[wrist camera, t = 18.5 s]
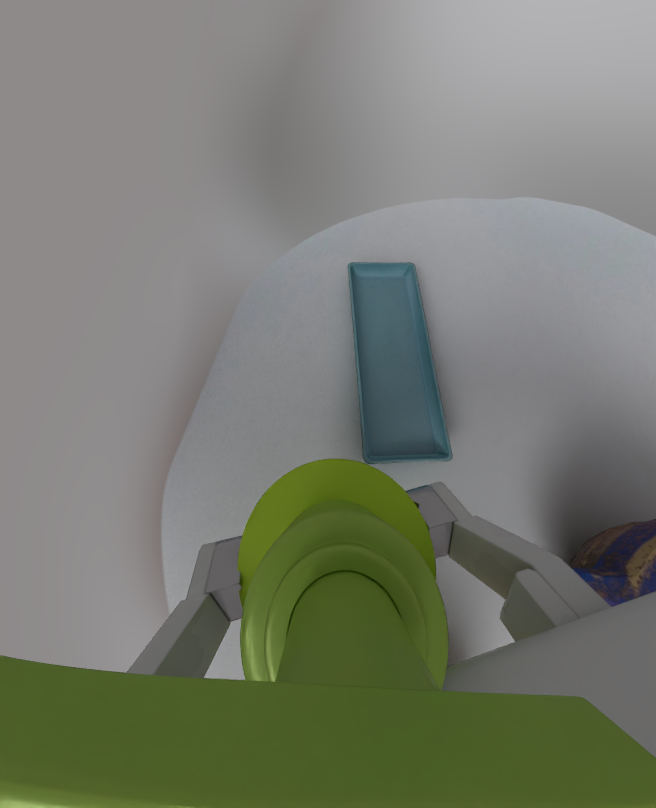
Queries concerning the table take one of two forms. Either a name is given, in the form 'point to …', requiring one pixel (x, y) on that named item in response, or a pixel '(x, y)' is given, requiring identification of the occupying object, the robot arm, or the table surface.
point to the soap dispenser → (315, 691)
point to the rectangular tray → (395, 367)
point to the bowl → (620, 562)
